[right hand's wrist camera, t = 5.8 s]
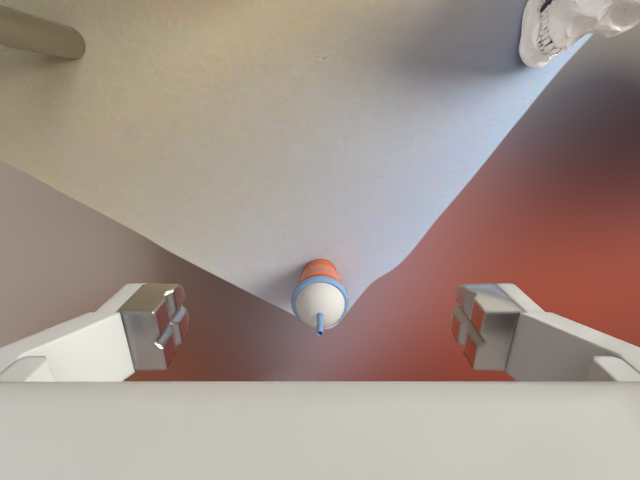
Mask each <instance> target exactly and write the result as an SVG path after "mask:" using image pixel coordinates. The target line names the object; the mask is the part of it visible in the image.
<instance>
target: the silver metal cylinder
mask: <svg viewBox="0 0 640 480" xmlns="http://www.w3.org/2000/svg"><path fill="white" fill-rule="evenodd" d="M0 45H1V46H6V47H12V48H17V49H22V50H27V51H32V52H37V53H42V54H47V55H52V56H57V57H63V58H68V59H78V58H80V57H81V56H82V55H83V54H84V51H85V43H84V40H83V38H82V36H81V35H80V34H79V33H78V32H77V31H76V30H75V29H73V28H71V27H68V26H65V25H61V24H58V23H55V22H52V21H49V20H46V19H43V18H40V17H37V16H33V15H30V14H27V13H24V12H21V11H18V10H15V9H12V8H9V7H6V6H2V5H0Z"/></svg>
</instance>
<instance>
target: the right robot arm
mask: <svg viewBox="0 0 640 480" xmlns="http://www.w3.org/2000/svg"><path fill="white" fill-rule="evenodd" d="M184 299H185V294H184V289H183V287H182V286H181V285H180V284H145V283H138V284H126V285H125V286H124V287H123V288H121V289H120V290H119V291H118V292H117V293H116V294H115V295H114V296H112V297H111V298H110V299H109V300H108V301H107V302H106V303H105V304H103V305H102V306H101V307H100V308H99V309H98V310H97V311H96V312H89V313H86V314H84V315H81V316H79V317H76V318H74V319H71V320H69V321H66V322H64V323H61V324H59V325H56V326H54V327H51V328H48V329H46V330H43V331H41V332H39V333H36V334H33V335H31V336H28V337H26V338H23V339H21V340H18V341H16V342H13V343H11V344H8V345H6V346H3V347H1V348H0V480H640V348H639V347H637V346H634V345H632V344H629V343H627V342H624V341H622V340H619V339H617V338H614V337H611V336H609V335H606V334H604V333H601V332H599V331H596V330H594V329H591V328H589V327H586V326H584V325H581V324H579V323H576V322H574V321H571V320H569V319H566V318H564V317H561V316H559V315H556V314H554V313H550V312H544V311H543V310H542V309H541V308H540V307H539V306H538V305H537V304H535V303H534V302H533V301H532V300H531V299H530V298H529V297H528V296H527V295H525V294H524V293H523V292H522V291H521V290H520V289H519V288H518V287H517V286H515V285H514V284H511V283H503V284H462V285H458V287H457V289H456V293H455V299H456V301H457V302H458V304H459V305H458V306H457V307H456V308H455V309H454V310H453V311H452V318H451V324H452V331H453V335H454V337H455V339H456V341H457V342H458V343H459V344H461V345H463V346H464V347H465V348H464V354H465V356H466V358H467V359H468V361H469V363H470V365H471V366H472V368H473V369H474V370H504V371H505V372H506V373H507V374H509V375H510V376H511V377H513V378H514V379H515V380H517V381H205V382H204V381H158V382H157V381H138V382H137V381H123V380H125V379H126V378H127V377H129V376H130V375H131V374H133V373H134V372H135V371H136V370H166V369H167V368H168V366H169V365H170V363H171V361H172V359H173V358H174V356H175V354H176V348H175V347H176V346H177V345H179V344H181V343H182V342H183V341H184V339H185V337H186V335H187V331H188V327H189V317H188V311H187V310H186V309H185V308H184V307H183V306H182V305H181V304H182V302H183V301H184Z"/></svg>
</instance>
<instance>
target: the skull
mask: <svg viewBox="0 0 640 480" xmlns="http://www.w3.org/2000/svg"><path fill="white" fill-rule="evenodd" d="M545 1H546V0H528V2H527V4H526V6H525V9H524V14H523V19H522V31H521V39H520V44H519V53H520V57H521V59H522V61H523V62H524V63H525V64H526V65H528V66H530V67H541V66H544V65H546V64H547V63H548V62H549V61H550V60H551V59H552V58H553V57H555V56H557V55H559V54H560V53H561V52H563V51H565V50H567V49H568V48H569V47H571V46H572V45H573V44H574V43H575V42H577V41H578V40H579V39H580V38H582V37H583V36H584V35H586V34H588V33H593V32H598V33H600V34H602V35H604V36H605V37H607V38H609V37H613V36H616V35H618V34H620V33H623V32H625V31H626V30H628V29H630V28H632V27H634V26H635V25H637V24H638V23H640V0H553V1H552V2H551V4H550V5H548V6H547V7H546V8H545V10H544V11H543V12H542V13H541V12H540V9H541V7H542V6H543V4H544V3H545ZM541 23H542V24H541ZM546 27H547V29H545V28H546ZM541 29H542V30H541ZM544 29H545V30H544ZM547 31H548V32H547ZM546 32H547V33H546ZM540 34H541V35H540ZM539 35H540V36H539ZM549 36H550V37H551V38H550V37H549ZM547 37H548V38H547ZM546 38H547V39H546ZM544 39H545V40H544ZM551 39H552V41H553V42H552V43H551V44H549V45H548V46H546V47H545V45H546V44H548V43H549V42H550V40H551ZM541 40H544V41H542V42H541V43H540V41H541ZM541 44H542V45H543V46H542V47H541ZM553 47H555V48H553ZM552 48H553V49H552ZM542 49H544V50H542Z"/></svg>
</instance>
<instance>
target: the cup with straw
mask: <svg viewBox="0 0 640 480" xmlns="http://www.w3.org/2000/svg"><path fill="white" fill-rule="evenodd" d="M291 304H292V309H293V312H294V314H295V315H296V317H297V318H298V319H299V320H300V321H301V322H303V323H304V324H306V325H308V326H311V327H315V328H317V335H318V336H322V335H323V328H325V327H329V326H332V325H334V324H336V323H337V322H339V321H340V320H341V319H342V318H343V317H344V315H345V314H346V312H347V309H348V304H349V300H348V295H347V292H346V290H345V288H344V287H343V286H342V284H341V281H340V278H339V275H338V273H337V272H336V269H335V267H334V265H333V264H332V263H330V262H329V261H327V260H324V259H316V260H313V261H311V262H310V263H308V264H307V265H306V267H305V269H304V272H303V273H302V275H301V278H300V281H299V284H298V286H297V287H296V288H295V290H294V292H293V295H292V299H291Z"/></svg>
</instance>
